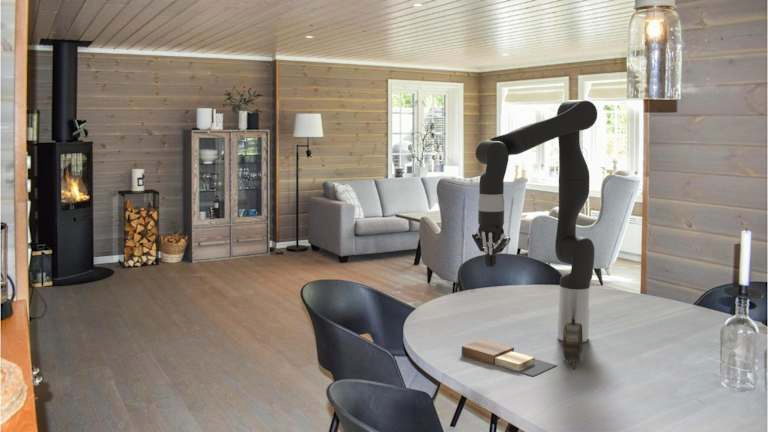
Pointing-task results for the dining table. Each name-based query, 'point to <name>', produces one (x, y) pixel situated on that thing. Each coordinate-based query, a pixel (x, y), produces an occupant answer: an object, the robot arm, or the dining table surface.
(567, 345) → the alarm clock
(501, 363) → the coaster
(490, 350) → the board
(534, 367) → the mat
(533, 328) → the dining table surface
